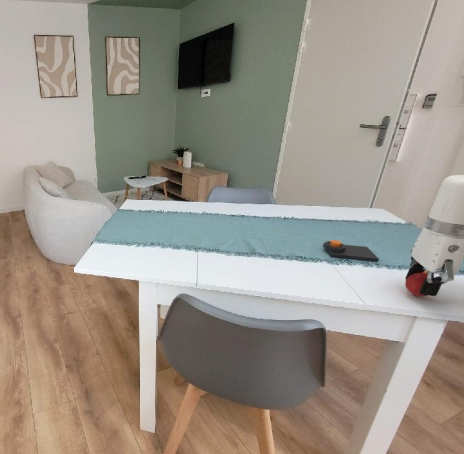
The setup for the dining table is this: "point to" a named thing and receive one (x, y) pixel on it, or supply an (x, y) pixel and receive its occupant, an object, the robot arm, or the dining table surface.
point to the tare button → (335, 243)
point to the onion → (416, 283)
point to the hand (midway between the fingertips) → (419, 287)
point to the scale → (350, 252)
